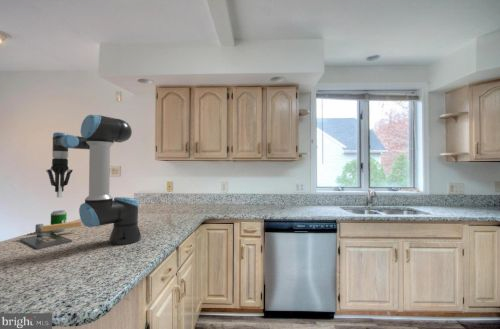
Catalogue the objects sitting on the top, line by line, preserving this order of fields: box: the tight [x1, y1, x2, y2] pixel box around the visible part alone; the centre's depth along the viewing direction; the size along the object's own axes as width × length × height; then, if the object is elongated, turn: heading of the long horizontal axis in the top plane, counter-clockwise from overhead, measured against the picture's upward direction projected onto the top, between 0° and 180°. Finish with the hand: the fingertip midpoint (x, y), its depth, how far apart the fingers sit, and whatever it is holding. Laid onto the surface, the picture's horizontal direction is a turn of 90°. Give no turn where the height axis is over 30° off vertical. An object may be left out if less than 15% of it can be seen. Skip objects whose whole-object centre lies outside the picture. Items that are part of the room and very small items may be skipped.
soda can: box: [50, 210, 68, 233], centre depth 147 cm, size 8×8×12 cm
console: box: [19, 232, 73, 250], centre depth 127 cm, size 24×14×3 cm, turn 58°
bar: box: [34, 220, 82, 234], centre depth 138 cm, size 20×3×4 cm, turn 137°
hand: (59, 197), depth 147 cm, fingers closed
